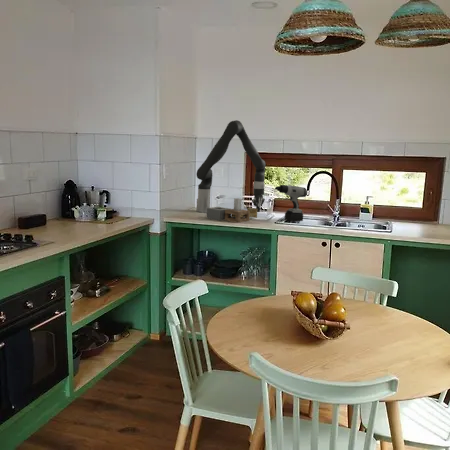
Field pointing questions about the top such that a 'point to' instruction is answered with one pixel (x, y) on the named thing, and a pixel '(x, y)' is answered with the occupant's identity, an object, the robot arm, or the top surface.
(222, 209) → the grey square box
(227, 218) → the socket block
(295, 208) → the cordless drill
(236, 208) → the steel peg
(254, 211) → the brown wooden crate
